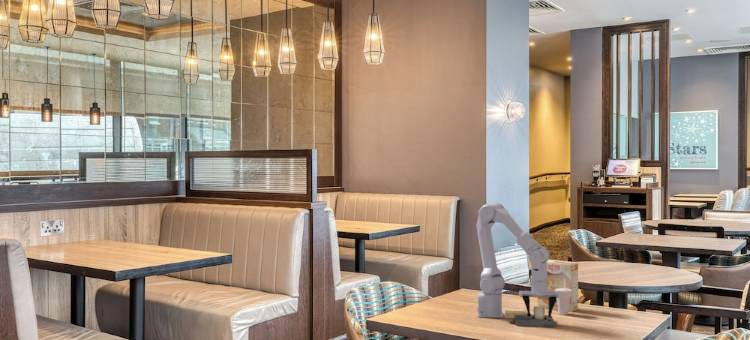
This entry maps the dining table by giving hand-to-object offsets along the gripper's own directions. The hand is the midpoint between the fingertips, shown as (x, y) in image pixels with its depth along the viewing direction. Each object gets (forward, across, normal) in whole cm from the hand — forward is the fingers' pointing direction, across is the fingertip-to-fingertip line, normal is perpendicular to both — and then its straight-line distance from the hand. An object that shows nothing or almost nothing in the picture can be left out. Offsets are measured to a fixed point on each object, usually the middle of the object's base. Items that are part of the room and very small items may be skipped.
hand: (539, 316), depth 244 cm
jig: (+3, -2, 0) cm, 3 cm away
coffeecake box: (+3, +10, +27) cm, 29 cm away
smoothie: (+3, +11, +17) cm, 20 cm away
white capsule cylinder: (+3, 0, 0) cm, 3 cm away
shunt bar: (+1, -9, 0) cm, 9 cm away
